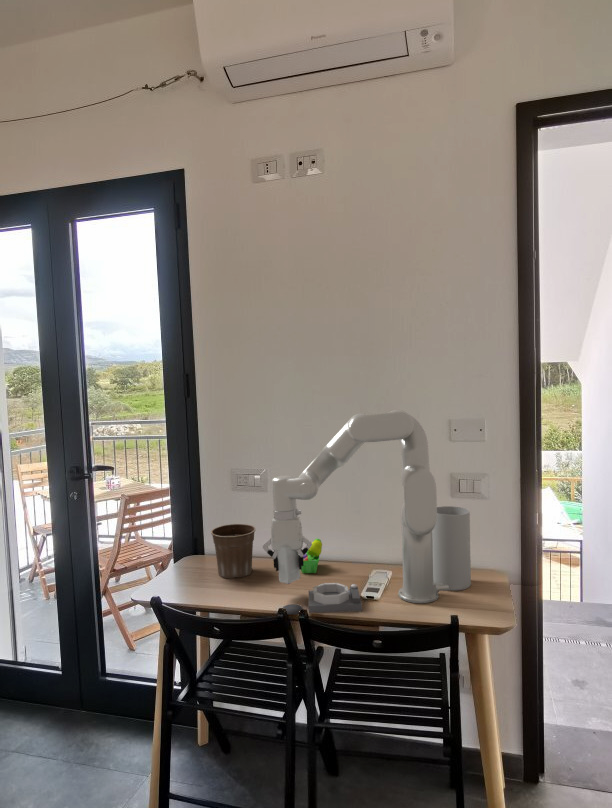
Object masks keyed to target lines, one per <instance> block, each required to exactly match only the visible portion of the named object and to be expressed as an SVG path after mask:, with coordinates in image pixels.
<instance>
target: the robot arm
mask: <svg viewBox="0 0 612 808" xmlns="http://www.w3.org/2000/svg"><path fill="white" fill-rule="evenodd" d="M389 441H399V445H400V452H401V453H400V456H401V476H400V477H401V480H400V481H401V485H402V486H403V493H404V494H403V496H404V498H403V499H404V501H403V503H402V505H401V507H400V526H401V551H402V552H401V554H402V555H401V556H402V560H401V561H402V587H401V588H399V590H398V594H397V595H398V597H399V599H401V600H403V601H405V602H409V603H412V604H413V603H414V604H429V603H433V602H435V601H437V600H438V599H439V595H440V594H439V592H449V591H450V590H449V586H448V585H443V583H435V582H434V581H433V539H432V530H433V529H434V527H435V525H436V521H437V507H438V504H437V503H438V502H437V500H438V499H437V483H436V479H435V476H434V475H433V473H432V472H431V470H430V454H429V441H428V437H427V434H426V431H425V429H424V428H423V426H422V425H421V423H420V421H418V420H417V418H415V417H414V416H413V415H411V414H410V413H409V412H406V411H403V410H401V409H393V410H391V411H388V412H384V413H375V414H373V413H372V414H370V413H369V414H366V413H356V414H354V415H352V416H351V417H350V419H348V421H346V423H345V424H344V425H343V426H342V427H341V428H340V429H339V430H338V431H337V433H336V434H335V435H333V437H332V438H331V439H330V441H328V443H326V445H324V447H323V448H322V449H321V451H320V452H319V454H317V456H315V458H314V459H313V460H312V461H311V462H310V463H309V465H308V466H306V468H305V469H304V470H303V471H302V472H301V473H300V474H299V476H298V477H295V478H294V477H293V476H291V475H278V476H275V477H273V478H272V480H271V495H272V509H273V518H271V526H270V529H271V530H270V531H271V532H270V536H271V537H270V538H269V539H268V540H267V541H266V542H265V543H264V544H263V545H262V549H263V550H264V551H265V552H266V553H267V554H268V556H270V557H271V558H272V560H273V568H274V569H275V572H279V570H278V557H277V554H278V551H280V547H281V546H290V550H297V552H298V554H299V569H300V571H301V570H302V566H304V563H303V556H304V555H305V554H306V553H307V551H308V550H309V549H310V547H311V546H312V542H313V541H310V540H309V539H308V538H306V537H305V536H304V535H303V529H302V528H303V527H302V523H301V519H300V516H299V515H302V510H301V509H298V508H297V500H301V501H308V500H312V499H315V497H316V496H317V495H318V492H319V488H320V487H321V486H322V485H323V484H324V482H325V481H326V480H327V479H328V478H329V477H330V476H331V475H332V474H333V473H334V472H335V471H336V470H337V469H339V468H341V467H343V466H344V465H345V464H347V463H348V462H349V461H350V459H351V458H352V457H353V456H354V455H355V454H356V453H357V452H358V451H359V450H360V448H362V446H364V444H365V443H377V442H389ZM304 543H305V545H306V546H304ZM270 546H271V549H270V548H269V547H270ZM303 546H304V547H303ZM302 548H303V549H302Z"/></svg>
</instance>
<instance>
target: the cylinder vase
mask: <svg viewBox="0 0 612 808" xmlns="http://www.w3.org/2000/svg"><path fill="white" fill-rule="evenodd" d="M470 513H471V511H470V509H468V508H466V507H461V506H452V505H451V506H449V505H446V506H443V505H442V506H437V521H436V525H435V527H434V529H433V530H432V539H433V581H434V582H435V583H443V585H448V586H449V591H464V590H467V589H469V588H470V586H471V585H472V575H471V574H472V571H471V569H472V568H471V566H472V565H471V564H472V563H471V562H472V561H471V520H470V519H471V517H470V516H471V514H470Z"/></svg>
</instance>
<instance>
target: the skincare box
mask: <svg viewBox="0 0 612 808" xmlns="http://www.w3.org/2000/svg"><path fill="white" fill-rule="evenodd" d="M277 557H278V580H279V582H280V583H283V584H287V585H290V584H292V583H294V582H295V581H297V580H299V579H301V570H300V569H299V554H298V552H297V550H290V546H281V547H280V551H278V554H277Z"/></svg>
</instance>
